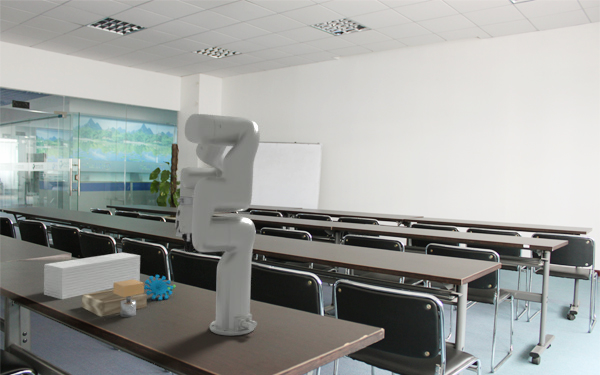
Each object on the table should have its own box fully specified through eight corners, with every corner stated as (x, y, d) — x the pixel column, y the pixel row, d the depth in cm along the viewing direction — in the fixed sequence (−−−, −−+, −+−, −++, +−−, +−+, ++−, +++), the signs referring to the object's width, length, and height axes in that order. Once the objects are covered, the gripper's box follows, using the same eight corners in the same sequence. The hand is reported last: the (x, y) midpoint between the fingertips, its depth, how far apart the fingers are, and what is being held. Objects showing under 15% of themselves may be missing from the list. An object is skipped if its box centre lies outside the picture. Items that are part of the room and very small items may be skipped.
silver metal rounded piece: (138, 315, 137) (139, 294, 137) (124, 318, 134) (125, 296, 133) (131, 311, 140) (131, 291, 140) (117, 314, 136) (118, 293, 136)
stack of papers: (121, 278, 184) (122, 252, 184) (139, 282, 179) (140, 255, 179) (43, 295, 157) (44, 264, 157) (61, 300, 151) (62, 268, 151)
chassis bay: (146, 307, 145) (146, 294, 145) (100, 316, 134) (100, 303, 134) (126, 298, 154) (126, 287, 154) (81, 307, 143) (81, 294, 143)
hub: (143, 293, 137) (144, 282, 137) (123, 297, 132) (123, 286, 132) (133, 289, 141) (133, 279, 141) (113, 293, 136) (113, 282, 136)
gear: (146, 298, 150) (143, 273, 156) (140, 307, 153) (138, 282, 159) (178, 298, 156) (174, 274, 162) (172, 307, 159) (169, 283, 165)
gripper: (178, 203, 156) (176, 255, 157) (213, 201, 167) (211, 250, 168) (166, 201, 161) (165, 252, 162) (201, 200, 172) (199, 248, 173)
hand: (188, 251), depth 165 cm, fingers closed
